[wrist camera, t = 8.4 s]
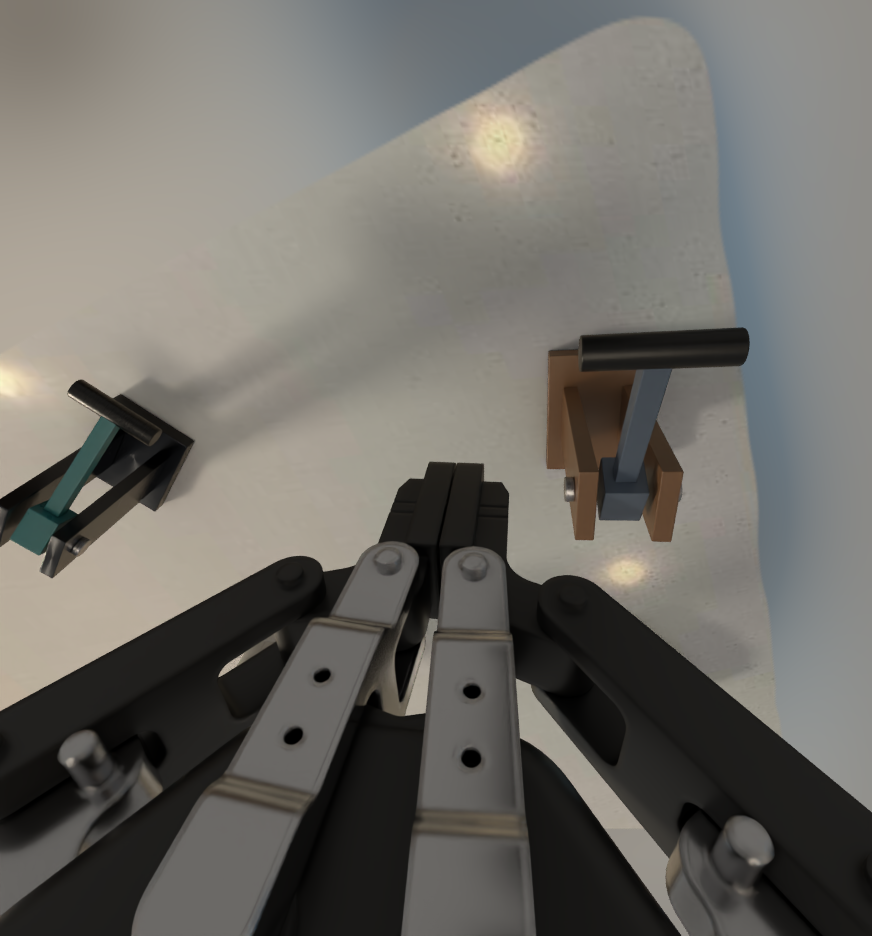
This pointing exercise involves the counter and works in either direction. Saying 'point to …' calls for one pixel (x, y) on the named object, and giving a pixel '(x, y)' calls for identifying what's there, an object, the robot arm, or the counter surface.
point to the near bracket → (602, 443)
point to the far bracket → (133, 480)
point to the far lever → (81, 465)
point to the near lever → (648, 398)
